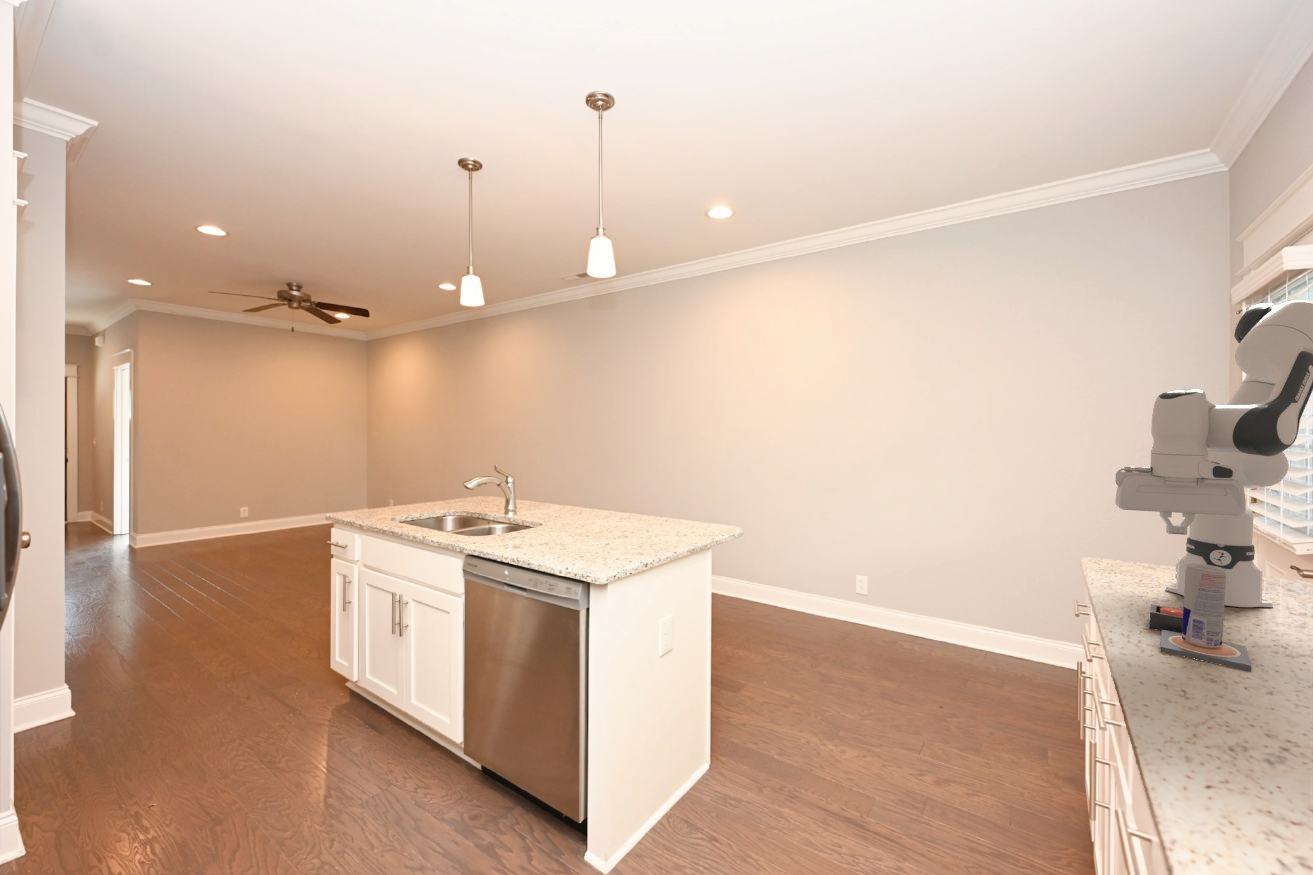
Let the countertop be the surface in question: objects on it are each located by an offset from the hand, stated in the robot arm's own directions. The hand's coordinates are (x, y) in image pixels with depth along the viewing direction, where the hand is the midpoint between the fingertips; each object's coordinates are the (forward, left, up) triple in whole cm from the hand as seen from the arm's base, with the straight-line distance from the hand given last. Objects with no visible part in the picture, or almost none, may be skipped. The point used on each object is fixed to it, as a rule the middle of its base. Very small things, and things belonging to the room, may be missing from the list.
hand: (1176, 533), depth 121 cm
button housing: (0, 0, -20) cm, 20 cm away
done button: (0, 0, -19) cm, 19 cm away
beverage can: (+11, +4, -19) cm, 23 cm away
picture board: (+12, +4, -20) cm, 24 cm away
